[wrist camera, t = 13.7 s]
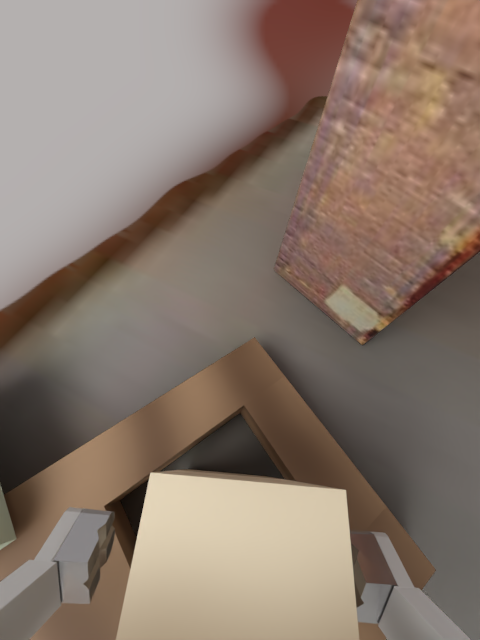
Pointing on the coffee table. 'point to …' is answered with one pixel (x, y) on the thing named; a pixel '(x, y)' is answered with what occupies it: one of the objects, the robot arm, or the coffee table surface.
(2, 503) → the lid
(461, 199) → the book
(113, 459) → the puzzle board
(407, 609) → the robot arm
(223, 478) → the maple block
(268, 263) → the coffee table surface
